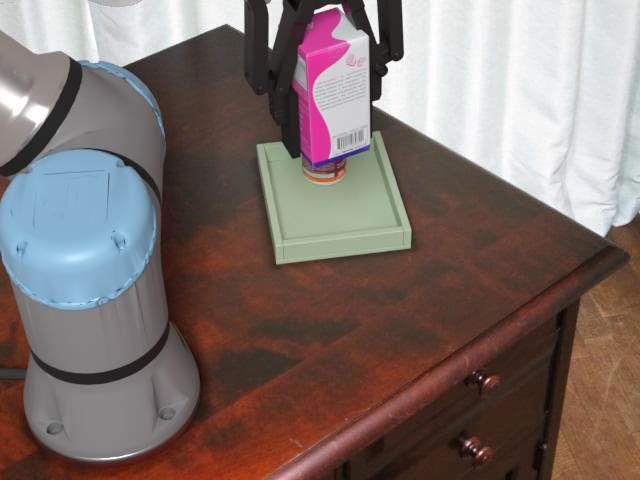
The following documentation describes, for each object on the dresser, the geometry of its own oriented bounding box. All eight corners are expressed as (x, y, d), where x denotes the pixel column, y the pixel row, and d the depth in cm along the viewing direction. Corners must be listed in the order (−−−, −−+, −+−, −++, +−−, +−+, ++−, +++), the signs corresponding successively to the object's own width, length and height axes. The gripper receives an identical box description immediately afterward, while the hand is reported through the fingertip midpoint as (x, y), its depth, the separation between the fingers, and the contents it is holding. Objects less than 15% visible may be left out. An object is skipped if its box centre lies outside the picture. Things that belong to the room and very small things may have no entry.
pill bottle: (346, 186, 122) (346, 122, 116) (301, 187, 122) (299, 123, 116) (346, 159, 125) (346, 95, 120) (303, 159, 125) (300, 95, 120)
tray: (276, 264, 114) (275, 246, 112) (257, 162, 126) (256, 144, 124) (411, 248, 115) (411, 229, 113) (379, 148, 127) (379, 130, 126)
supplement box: (340, 115, 104) (339, 3, 96) (371, 150, 100) (373, 37, 92) (282, 133, 102) (276, 21, 94) (312, 170, 98) (308, 56, 90)
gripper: (415, -151, 90) (407, 92, 106) (183, -106, 85) (210, 142, 101) (458, -113, 85) (443, 137, 101) (214, -62, 80) (238, 192, 96)
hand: (326, 139), depth 101 cm, fingers closed on supplement box, 6 cm apart
